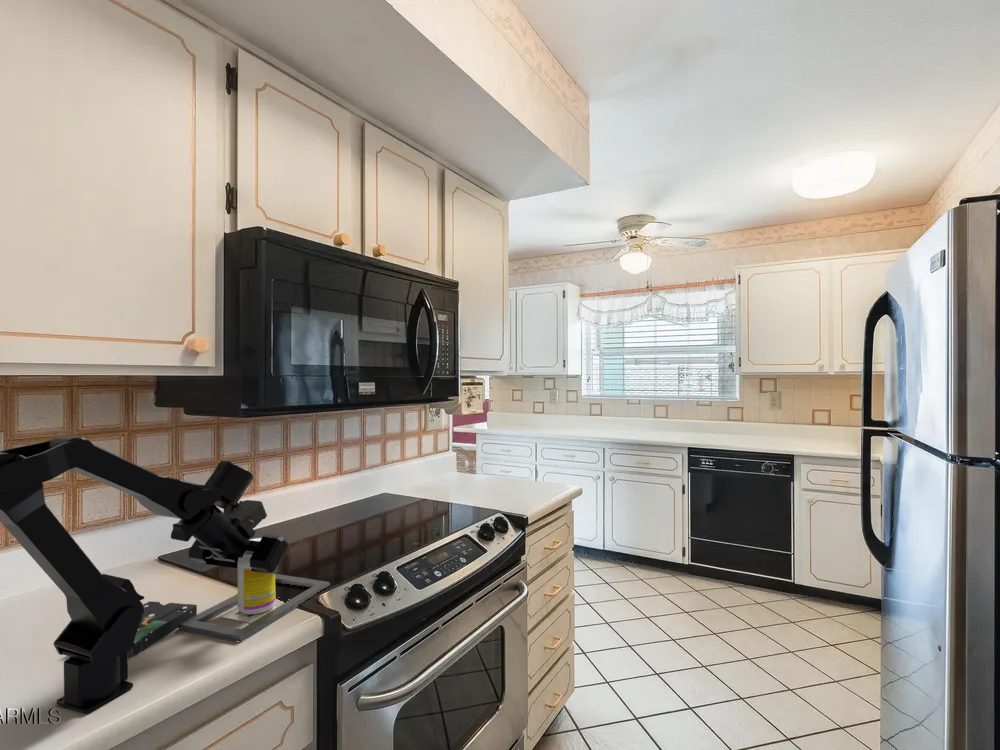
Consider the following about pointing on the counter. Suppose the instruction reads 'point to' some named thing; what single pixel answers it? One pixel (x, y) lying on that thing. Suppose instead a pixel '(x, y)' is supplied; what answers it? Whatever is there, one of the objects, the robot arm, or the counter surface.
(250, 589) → the supplement bottle
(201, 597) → the counter surface
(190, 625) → the label panel
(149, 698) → the counter surface
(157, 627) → the disk drive
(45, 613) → the counter surface
